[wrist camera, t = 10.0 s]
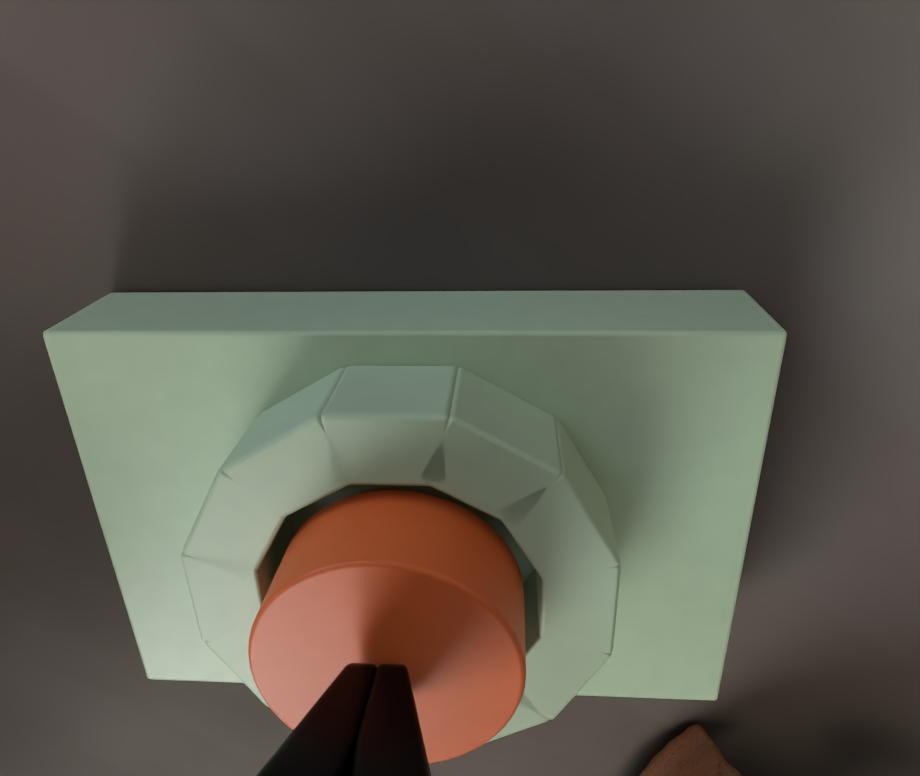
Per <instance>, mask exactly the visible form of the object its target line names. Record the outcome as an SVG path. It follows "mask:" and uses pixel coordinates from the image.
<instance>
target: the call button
mask: <svg viewBox="0 0 920 776" xmlns="http://www.w3.org/2000/svg"><path fill="white" fill-rule="evenodd" d="M248 654H249V662H250V669H251V672H252V676H253V679H254V682H255V684H256V686H257V688H258V690H259V692H260V694H261V696H262V697H263V699H264V700H265V702H266V703H267V705H268V706H269V707H270V708H271V709H272V711H273V712H274V713H275V714H276V715H277V716H278V717H279V718H280V719H281V720H282V721H283V722H284V723H285V724H286V725H287V726H289V727H290V728H291V729H293V730H294V729H295V728H296V726H297V725H298V724H299V723H300V722H301V720H302V719H303V718H304V717H305V715H306V714H307V713H308V712H309V710H310V709H311V708H312V707H313V706H314V704H315V703H316V702H317V701H318V699H319V698H320V697H321V696H322V694H323V693H324V692H325V691H326V690H327V688H328V687H329V686H330V685H331V683H332V682H333V681H334V680H335V678H336V677H337V676H338V675H339V674H340V672H341V671H342V670H343V669H344V667H345V666H346V665H348V664H350V663H373V664H375V665H376V666H377V668H378V666H379V665H381V664H403V665H405V666H406V667H407V669H408V672H409V677H410V681H411V686H412V691H413V695H414V700H415V704H416V709H417V713H418V718H419V722H420V727H421V731H422V736H423V741H424V745H425V750H426V754H427V759H428V763H429V764H430V763H435V762H441V761H445V760H448V759H452V758H455V757H458V756H461V755H463V754H466V753H468V752H470V751H473V750H474V749H476V748H478V747H480V746H481V745H483V744H485V743H486V742H488V741H489V740H490V739H492V738H493V737H494V736H496V735H497V734H498V733H499V732H500V731H501V730H502V729H503V728H504V727H505V726H506V724H507V723H508V722H509V720H510V719H511V718H512V716H513V715H514V713H515V711H516V709H517V707H518V705H519V703H520V701H521V698H522V695H523V692H524V689H525V681H526V647H525V606H524V585H523V579H522V575H521V571H520V568H519V566H518V563H517V561H516V559H515V557H514V555H513V553H512V552H511V550H510V548H509V547H508V545H507V544H506V543H505V541H504V540H503V539H502V538H501V537H500V535H499V534H498V533H497V532H496V531H495V530H494V529H493V528H492V527H491V526H490V525H489V524H488V523H487V522H485V521H484V520H482V519H481V518H480V517H478V516H477V515H476V514H474V513H473V512H471V511H469V510H467V509H466V508H464V507H462V506H460V505H458V504H456V503H453V502H451V501H449V500H446V499H444V498H441V497H437V496H434V495H430V494H427V493H421V492H416V491H408V490H395V489H394V490H376V491H369V492H363V493H359V494H355V495H351V496H348V497H345V498H343V499H340V500H338V501H336V502H333V503H331V504H330V505H328V506H326V507H325V508H323V509H321V510H319V511H318V512H317V513H315V514H314V515H313V516H312V517H310V518H309V519H308V520H307V521H306V522H305V523H304V524H303V525H302V526H301V527H300V528H299V529H298V531H297V532H296V534H295V535H294V537H293V538H292V540H291V541H290V543H289V546H288V548H287V550H286V552H285V554H284V556H283V559H282V561H281V563H280V565H279V567H278V570H277V572H276V574H275V576H274V578H273V580H272V583H271V585H270V587H269V589H268V591H267V593H266V596H265V598H264V600H263V602H262V604H261V607H260V609H259V611H258V613H257V615H256V618H255V620H254V622H253V624H252V628H251V632H250V636H249V648H248Z"/></svg>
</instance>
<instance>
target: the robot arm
mask: <svg viewBox="0 0 920 776" xmlns="http://www.w3.org/2000/svg"><path fill="white" fill-rule="evenodd" d="M257 776H431V772H430V768H429V763H428V759H427V754H426V750H425V745H424V741H423V736H422V731H421V727H420V722H419V718H418V713H417V709H416V704H415V700H414V695H413V691H412V686H411V681H410V677H409V672H408V669H407V667H406V666H405V665H403V664H381V665H379V666H378V668H377V666H376V665H375V664H373V663H350V664H348V665H346V666H345V667H344V669H343V670H342V671H341V672H340V674H339V675H338V676H337V677H336V678H335V680H334V681H333V682H332V683H331V685H330V686H329V687H328V688H327V690H326V691H325V692H324V693H323V694H322V696H321V697H320V698H319V699H318V701H317V702H316V703H315V704H314V706H313V707H312V708H311V709H310V710H309V712H308V713H307V714H306V715H305V717H304V718H303V719H302V720H301V722H300V723H299V724H298V725H297V726H296V728H295V729H294V730H293V731H292V733H291V734H290V735H289V736H288V738H287V739H286V740H285V741H284V743H283V744H282V745H281V746H280V747H279V749H278V750H277V751H276V752H275V754H274V755H273V756H272V757H271V759H270V760H269V761H268V762H267V763H266V765H265V766H264V767H263V768H262V770H261V771H260V772H259V773H258V775H257Z"/></svg>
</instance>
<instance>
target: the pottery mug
mask: <svg viewBox="0 0 920 776" xmlns="http://www.w3.org/2000/svg"><path fill="white" fill-rule="evenodd" d="M639 776H741V774H740V773H739V772H738V771H737V770H736V769H735V768H734V767H732V766H731V765H730V764H729V763H727V761H726V760H725V759H724V757H723V756H722V754H721V752H720V751H719V749H718V748H717V746H716V745H715V743H714V742H713V741H712V740H711V738H710V737H709V735H708V734H707V733H706V731H705V730H704V729H703V728H702V727H701V726H700V725H698V724H696V725H692V726H690V727H688V728H687V729H686V730H685V731H684V732H683V733H682V734H680V735H679V736H677V737H675V738H674V739H672V740H671V741H670V742H669V743H668V744H667V745H666V746H665V747H664V748H663V749H662V751H660V752H659V753H658V754H656V755H655V756H654V757H653V758H652V760H651V761H650V763H649V764H648V766H647V767H646V768H645V769H644V770H643V771H642V772H641V774H640V775H639Z"/></svg>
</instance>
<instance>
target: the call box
mask: <svg viewBox="0 0 920 776" xmlns="http://www.w3.org/2000/svg"><path fill="white" fill-rule="evenodd" d="M43 337H44V340H45V344H46V347H47V350H48V354H49V357H50V360H51V363H52V367H53V370H54V373H55V376H56V380H57V383H58V386H59V390H60V393H61V396H62V399H63V403H64V406H65V409H66V412H67V416H68V419H69V422H70V426H71V429H72V432H73V435H74V439H75V442H76V445H77V448H78V452H79V455H80V458H81V462H82V465H83V468H84V471H85V475H86V478H87V481H88V484H89V488H90V491H91V494H92V498H93V501H94V504H95V507H96V511H97V514H98V517H99V520H100V524H101V527H102V530H103V534H104V537H105V540H106V543H107V547H108V550H109V553H110V556H111V560H112V563H113V566H114V570H115V573H116V576H117V579H118V583H119V586H120V589H121V592H122V596H123V599H124V602H125V606H126V609H127V612H128V615H129V619H130V622H131V625H132V628H133V632H134V635H135V638H136V642H137V645H138V648H139V651H140V655H141V658H142V661H143V664H144V668H145V671H146V674H147V677H148V678H149V679H158V680H185V681H211V682H238V683H244V684H245V685H246V686H247V687H248V688H249V689H250V690H251V691H252V692H253V693H254V694H255V695H256V696H257V697H258V698H259V699H260V700H261V701H262V702H263V703H264V704H265V705H266V706H268V705H267V703H266V702H265V700H264V699H263V697H262V696H261V694H260V692H259V690H258V688H257V686H256V684H255V682H254V679H253V676H252V672H251V669H250V662H249V654H248V648H249V636H250V632H251V628H252V624H253V622H254V620H255V618H256V615H257V613H258V611H259V609H260V607H261V604H262V602H263V600H264V598H265V596H266V593H267V591H268V589H269V587H270V585H271V583H272V580H273V578H274V576H275V574H276V572H277V570H278V567H279V565H280V563H281V561H282V559H283V556H284V554H285V552H286V550H287V548H288V546H289V543H290V541H291V540H292V538H293V537H294V535H295V534H296V532H297V531H298V529H299V528H300V527H301V526H302V525H303V524H304V523H305V522H306V521H307V520H308V519H309V518H310V517H312V516H313V515H314V514H315V513H317V512H318V511H319V510H321V509H323V508H325V507H326V506H328V505H330V504H331V503H333V502H336V501H338V500H340V499H343V498H345V497H348V496H351V495H355V494H359V493H363V492H369V491H376V490H394V489H395V490H408V491H416V492H421V493H427V494H430V495H434V496H437V497H441V498H444V499H446V500H449V501H451V502H453V503H456V504H458V505H460V506H462V507H464V508H466V509H467V510H469V511H471V512H473V513H474V514H476V515H477V516H478V517H480V518H481V519H482V520H484V521H485V522H487V523H488V524H489V525H490V526H491V527H492V528H493V529H494V530H495V531H496V532H497V533H498V534H499V535H500V537H501V538H502V539H503V540H504V541H505V543H506V544H507V545H508V547H509V548H510V550H511V552H512V553H513V555H514V557H515V559H516V561H517V563H518V566H519V568H520V571H521V575H522V579H523V585H524V606H525V647H526V681H525V689H524V692H523V695H522V698H521V701H520V703H519V705H518V707H517V709H516V711H515V713H514V715H513V716H512V718H511V719H510V720H509V722H508V723H507V724H506V726H505V727H504V728H503V729H502V730H501V731H500V732H499V733H498V734H497V735H496V736H494V737H493V738H492V739H490V740H489V741H488V742H490V741H493V740H495V739H498V738H501V737H504V736H507V735H510V734H512V733H515V732H518V731H521V730H524V729H527V728H529V727H532V726H535V725H538V724H541V723H544V722H546V721H548V720H549V719H554V718H555V717H556V716H557V715H558V714H559V713H560V711H561V710H562V709H563V708H564V707H565V706H566V705H567V704H568V703H569V702H570V701H571V699H572V698H573V697H574V696H575V695H584V696H611V697H637V698H664V699H690V700H717V698H718V693H719V688H720V682H721V677H722V672H723V667H724V661H725V656H726V651H727V646H728V640H729V635H730V630H731V625H732V620H733V614H734V609H735V604H736V599H737V593H738V588H739V583H740V578H741V572H742V567H743V562H744V557H745V551H746V546H747V541H748V536H749V531H750V525H751V520H752V515H753V510H754V504H755V499H756V494H757V489H758V483H759V478H760V473H761V468H762V463H763V457H764V452H765V447H766V442H767V436H768V431H769V426H770V421H771V415H772V410H773V405H774V400H775V395H776V389H777V384H778V379H779V374H780V368H781V363H782V358H783V353H784V347H785V342H786V337H787V333H786V331H785V330H784V329H783V328H782V327H781V326H780V325H779V324H778V323H777V322H776V321H775V320H774V319H773V318H772V317H771V316H770V315H769V314H768V313H767V312H766V311H765V310H764V309H763V308H762V307H761V306H760V305H759V304H758V303H757V302H756V301H755V300H754V299H753V298H752V297H751V296H750V295H749V294H748V293H747V292H746V291H743V290H616V291H374V292H133V293H110V294H108V295H106V296H104V297H102V298H101V299H99V300H97V301H96V302H94V303H92V304H90V305H89V306H87V307H85V308H84V309H82V310H80V311H78V312H77V313H75V314H73V315H71V316H70V317H68V318H66V319H65V320H63V321H61V322H59V323H58V324H56V325H54V326H52V327H51V328H49V329H47V330H46V331H44V333H43ZM268 707H269V706H268ZM271 710H272V709H271ZM486 743H487V742H486Z"/></svg>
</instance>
